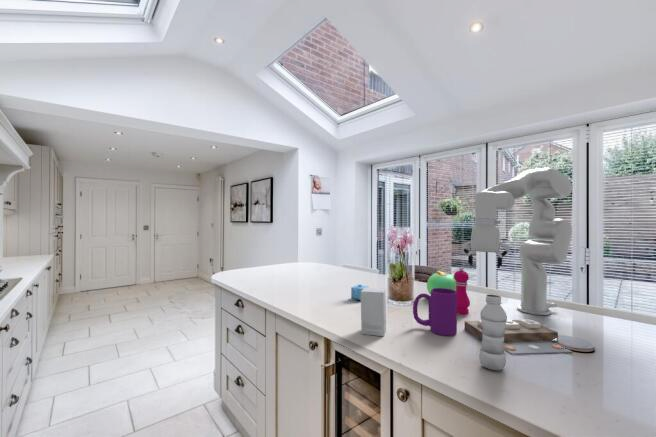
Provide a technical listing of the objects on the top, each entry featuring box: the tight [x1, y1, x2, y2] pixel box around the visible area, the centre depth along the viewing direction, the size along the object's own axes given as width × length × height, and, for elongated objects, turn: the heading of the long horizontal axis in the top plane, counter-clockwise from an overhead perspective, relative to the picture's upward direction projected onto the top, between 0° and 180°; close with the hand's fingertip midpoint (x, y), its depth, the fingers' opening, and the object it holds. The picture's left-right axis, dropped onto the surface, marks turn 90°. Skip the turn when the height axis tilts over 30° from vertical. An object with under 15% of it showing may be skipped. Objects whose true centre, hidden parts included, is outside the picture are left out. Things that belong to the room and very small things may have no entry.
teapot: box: [350, 284, 370, 302], centre depth 156 cm, size 12×6×8 cm, turn 147°
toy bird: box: [426, 270, 456, 296], centre depth 157 cm, size 18×17×15 cm
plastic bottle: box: [479, 293, 508, 371], centre depth 86 cm, size 6×7×20 cm
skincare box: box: [360, 287, 387, 337], centre depth 112 cm, size 8×7×16 cm
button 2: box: [519, 319, 542, 329], centre depth 112 cm, size 4×4×3 cm
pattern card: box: [504, 342, 574, 356], centre depth 99 cm, size 20×7×1 cm, turn 95°
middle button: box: [505, 319, 519, 329], centre depth 111 cm, size 4×4×3 cm
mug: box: [412, 288, 458, 337], centre depth 115 cm, size 9×16×15 cm, turn 63°
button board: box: [464, 319, 559, 344], centre depth 111 cm, size 26×13×3 cm, turn 95°
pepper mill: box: [453, 266, 471, 316], centre depth 136 cm, size 7×7×20 cm
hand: (484, 266), depth 122 cm, fingers open, 9 cm apart
